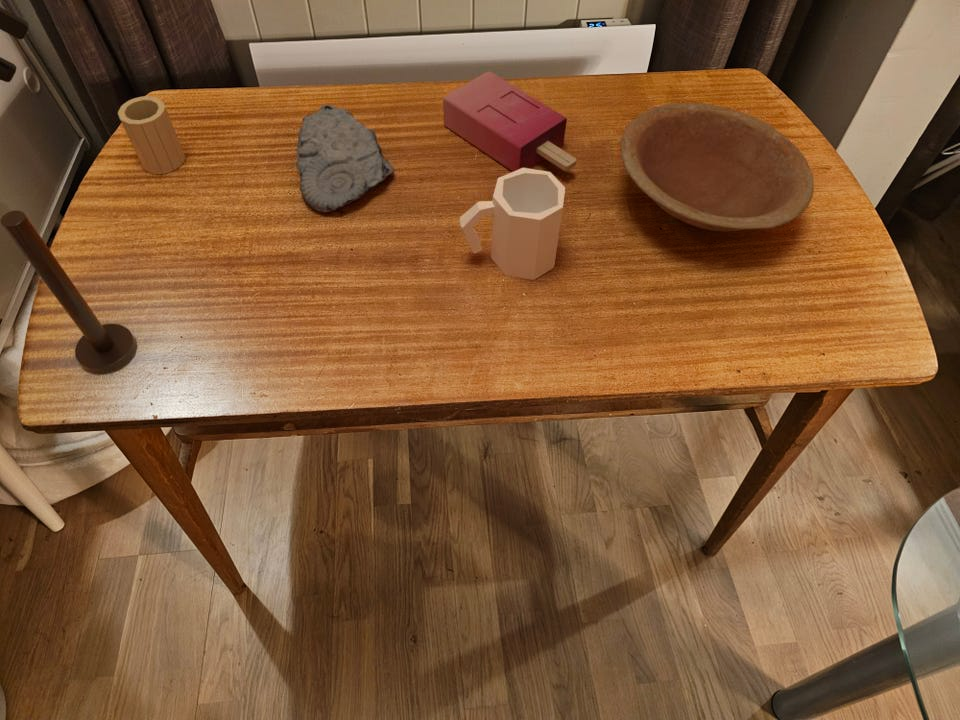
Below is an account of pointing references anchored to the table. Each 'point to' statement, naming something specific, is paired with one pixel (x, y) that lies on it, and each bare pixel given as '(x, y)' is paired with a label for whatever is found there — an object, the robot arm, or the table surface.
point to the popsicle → (507, 123)
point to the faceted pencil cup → (152, 134)
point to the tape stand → (73, 302)
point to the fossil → (337, 159)
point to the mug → (521, 222)
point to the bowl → (716, 167)
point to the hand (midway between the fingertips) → (20, 53)
